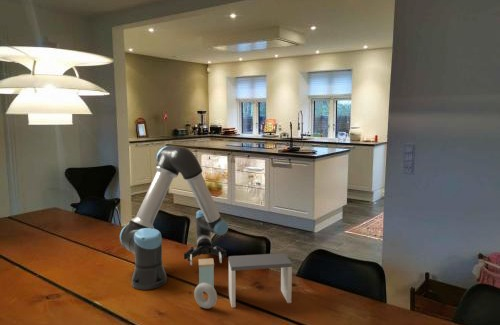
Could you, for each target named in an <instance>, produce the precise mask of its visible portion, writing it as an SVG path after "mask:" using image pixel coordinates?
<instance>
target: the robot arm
mask: <svg viewBox="0 0 500 325" xmlns="http://www.w3.org/2000/svg"><path fill="white" fill-rule="evenodd" d="M155 170H156V172H155V174H154V177H153V179H152V181H151V183H150V185H149V187H148V189H147V192H146V194H145V196H144V198H143V201H142V203H141V204H140V207H139V210H138V211H137V214H136V215H135V217H133V218H130V221H129V223H128V224H127V225H125V226H123V227H122V229H121V231H120V233H119V242H120V244H121V246H123V248H124V249H125V250H127V251H129V252H130V253H132V254H133V255H134V261H135V262H134V265H135V266H134V267H135V268H134V270H133V274H132V277H131V286H132V287H133V288H135V289H137V290H143V291H145V290H146V291H147V290H154V289H158V288H160V287H163V286H164V285H165V284H166V283H167V281H168V280H167V278H168V277H167V273H166V270H165V267H164V265H163V238H162V233H161V231H159V230H158V229H156V228H155V227H154V222H155V219H156V217H157V215H158V213H159V211H160V208H161V207H162V203H163V201H164V199H165V197H166V195H167V193H168V190H169V188H170V186H171V184H172V182H173V179H175V178H177V177H178V176H179V175H181V176H182V178H183V180H185V181H187V183H188V186H189V187H190V189H191V192H192V194H193V196H194V199H195V200H196V202H197V204H198V206H199V208H200V209H199V210H197V211H196V212H195V221H196V222H195V223H196V224H195V225H196V235H195V236H196V248H194V246H191V247H190V249H188V250H187V251H186V252H184V253H183V259H184V260H187V262H190V263H189V265H190V266H193V258H196V257H197V256H201V255H213V256H217V257H218V259H219V264H222V263H223V262H222V261H223V260H224V257H227V256H228V255H227V250H225V249H224V248H222V247H220V246H219V245H218V244H216V245H215V246H213V243H212V237H211V233H212V234H215V235H218V236H223V235H225V234H226V233H227V232H228V230H229V224H228V222H226V221H225V220H223V219H222V217H221V214H220V212H219V210H218V207H217V205H216V203H215V201H214V198H213V197H212V194H211V192H210V190H209V187H208V186H207V183H206V181H205V179H204V177H203V168H202V166H201V164H200V163H199V161H198V159H197V157H196V155H195V154H194V153H193V152H192V151H191V150H190V149H189V148H188V147H185V146H178V145H177V146H176V145H166V146H163V147H161V148H160V149H159V150H158V151H157V154H156V165H155Z"/></svg>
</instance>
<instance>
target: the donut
mask: <svg viewBox="0 0 500 325" xmlns="http://www.w3.org/2000/svg"><path fill="white" fill-rule="evenodd" d="M204 293H206V294H207V299H206V298H205V296H204ZM193 295H194V299H195V302H196V303H197V305H199V307H200V308H203V309H208V310H209V309H211V308H213V307H214V306H215V305H216V303H217V301H218V294H217V291H216V289H215V287H214V288H213V286H211V285H210V284H208V283H201V284H199V283H198V285H196V286H195V288H194V291H193Z"/></svg>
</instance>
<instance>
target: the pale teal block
mask: <svg viewBox="0 0 500 325" xmlns="http://www.w3.org/2000/svg"><path fill="white" fill-rule="evenodd" d="M214 267H215V262H214V257H213V258H198V279H199V280H198V285H199V284H201V283H208V284H210V285H211V286H213V288H214V289H215V285H214V284H215V283H214V281H215V280H214V279H215V274H214V273H215V272H214V271H215V270H214V269H215V268H214Z"/></svg>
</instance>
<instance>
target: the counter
mask: <svg viewBox="0 0 500 325" xmlns="http://www.w3.org/2000/svg"><path fill="white" fill-rule="evenodd" d="M279 268H280V269H281V270H280V291H281V293H282V296H283V298H284V299H285V301H286V303H287V304H291V303H292V287H293V285H292V284H293V283H292V282H293V281H292V280H293V278H292V277H293V275H292V274H293V262H292V260H290V258H289V257H288V255H287V254H286V253H285V252H283V253H282V252H281V253H280V252H279V253H263V254H246V255H230V256H229V255H228V298H229V303H230V305H231V306H230V307H231V308H236V271H248V270H249V271H250V270H252V271H253V270H265V269H267V270H268V269H279Z"/></svg>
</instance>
